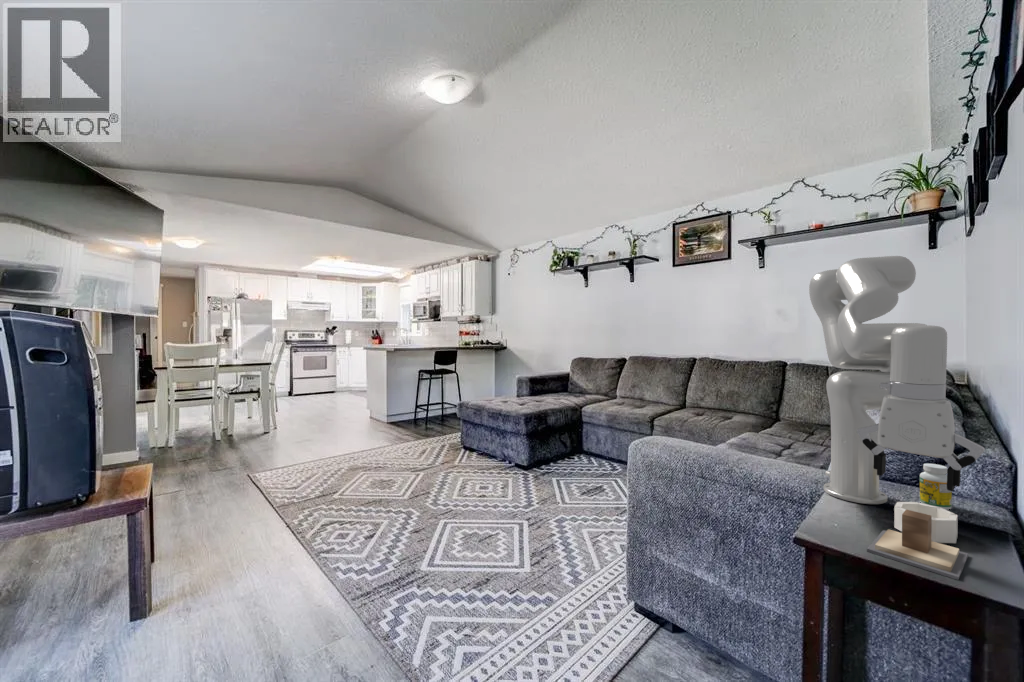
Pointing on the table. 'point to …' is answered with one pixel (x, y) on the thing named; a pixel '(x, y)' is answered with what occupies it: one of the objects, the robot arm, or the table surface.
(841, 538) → the table surface
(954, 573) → the mat
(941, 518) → the bowl
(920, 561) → the lid
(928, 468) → the supplement bottle
